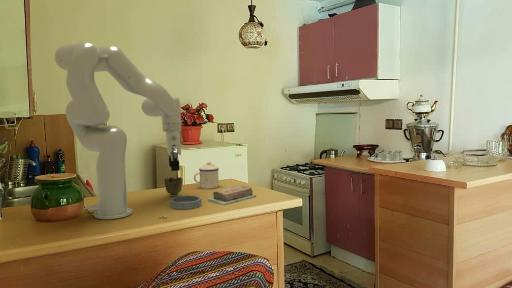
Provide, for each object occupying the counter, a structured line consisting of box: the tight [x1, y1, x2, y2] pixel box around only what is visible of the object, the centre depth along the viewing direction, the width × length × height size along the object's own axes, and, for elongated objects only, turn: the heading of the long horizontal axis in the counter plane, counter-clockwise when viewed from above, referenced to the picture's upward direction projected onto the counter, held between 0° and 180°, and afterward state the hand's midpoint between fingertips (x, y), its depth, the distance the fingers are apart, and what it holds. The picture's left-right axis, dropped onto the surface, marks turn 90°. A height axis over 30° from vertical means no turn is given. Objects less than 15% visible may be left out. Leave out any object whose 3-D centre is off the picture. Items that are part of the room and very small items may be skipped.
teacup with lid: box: [193, 161, 220, 190], centre depth 183 cm, size 12×9×12 cm
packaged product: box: [207, 184, 257, 206], centre depth 161 cm, size 18×5×10 cm
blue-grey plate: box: [169, 194, 203, 211], centre depth 152 cm, size 12×12×2 cm
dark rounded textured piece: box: [164, 176, 183, 199], centre depth 165 cm, size 8×7×8 cm
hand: (174, 168), depth 164 cm, fingers open, 9 cm apart
